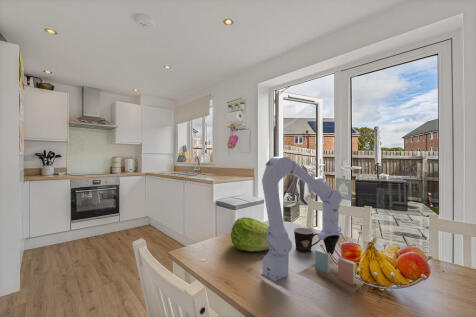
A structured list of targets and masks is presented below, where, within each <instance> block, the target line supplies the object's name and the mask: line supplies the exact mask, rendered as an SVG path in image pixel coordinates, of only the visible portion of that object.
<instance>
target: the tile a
mask: <svg viewBox="0 0 476 317" xmlns="http://www.w3.org/2000/svg"><path fill="white" fill-rule="evenodd" d="M330 255H331V254H330V253H327V251H324V250H321V249H319V248H317V249H314V264H315V268H316V269H318V270H320V271H323V272H325V273H329V270H330V259H331V258H330V257H331V256H330Z"/></svg>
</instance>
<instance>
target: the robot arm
mask: <svg viewBox="0 0 476 317" xmlns="http://www.w3.org/2000/svg"><path fill="white" fill-rule="evenodd" d="M289 174H291V175H293V176H295V177H296V178H298V179H299V180H300V181H303V182H304V183H305V184H306V185H307V188H308V190H310V191H311V192H312V194H313V193H314V194H315V195H316V196H317V197H318V198H319V199H320V201H322V229H320V232H319V233H317V234H318V235H317V236H318V240H319V239H321V240H322V241H323V244H324V248H325V250H326V251H325V252H327V253H329V252H330V253H331V254H330V255H334V253H335V249H336V245H337V243H338V241H339V240H340V237H341V236H340V235H342V227H341V226H339V208H340V206H341V203H342V201H343V197H342V195H341V193H340V191H339V190H336V189H333V188H332V186H331V185H329V184H327V183H326V182H325V181H324V179H323V178H322V177H313V176H312V175H311V174H310V173H308V172H307V171H306V170H305V169H304V168H303V167H301V165H299V164H298V163H297V162H296V161H295V160H292V159H291V158H290V157H288V156H272V157H271V158H270V159H269V160H268V161H267V162H266V163H265V170H264V172H263V175H262V178H261V184H262V189H263V195H264V203H265V209H266V214H267V220H268V226H269V227H268V228H267V230H268V234H267V242H268V243H269V244H270V245H269V249H268V251H267V254H265V255H264V256H263V258H262V273H261V274H260V277H261V276H262V277H263V278H264V279H266V280H267V281H270V282H271V283H272V284H274V285H276V286H279V283H277V280H280V279H282V278H286V277H288V275H289V260H290V259H289V256H290V254H289V253H290V252H291V251H292V248H293V243H292V241H291V240H290V237H289V234H288V231H287V229H286V228H285V224H284V219H283V218H284V217H283V213H282V207H281V201H280V195H279V188H278V183H279V182H280V181H281V180H283V178H285V177H287V176H288V175H289ZM321 240H320V241H321ZM275 281H276V282H275Z"/></svg>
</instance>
